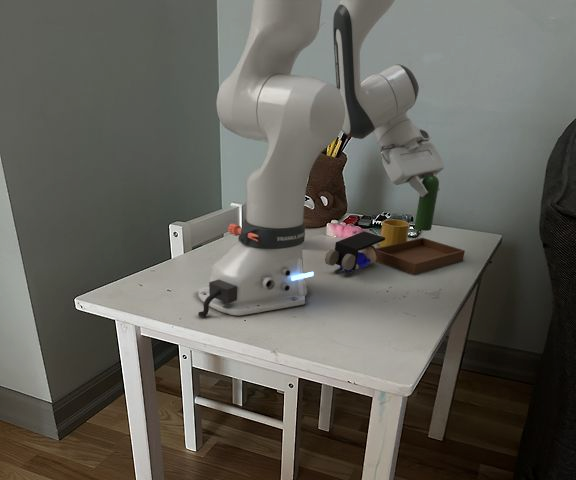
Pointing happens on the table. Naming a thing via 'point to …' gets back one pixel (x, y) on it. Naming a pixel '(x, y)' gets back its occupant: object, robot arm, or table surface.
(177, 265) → the table surface
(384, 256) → the tray
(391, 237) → the cup
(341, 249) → the figurine character
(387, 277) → the table surface
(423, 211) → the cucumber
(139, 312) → the table surface
